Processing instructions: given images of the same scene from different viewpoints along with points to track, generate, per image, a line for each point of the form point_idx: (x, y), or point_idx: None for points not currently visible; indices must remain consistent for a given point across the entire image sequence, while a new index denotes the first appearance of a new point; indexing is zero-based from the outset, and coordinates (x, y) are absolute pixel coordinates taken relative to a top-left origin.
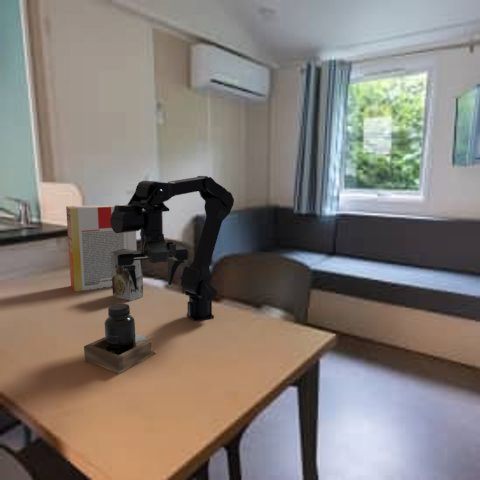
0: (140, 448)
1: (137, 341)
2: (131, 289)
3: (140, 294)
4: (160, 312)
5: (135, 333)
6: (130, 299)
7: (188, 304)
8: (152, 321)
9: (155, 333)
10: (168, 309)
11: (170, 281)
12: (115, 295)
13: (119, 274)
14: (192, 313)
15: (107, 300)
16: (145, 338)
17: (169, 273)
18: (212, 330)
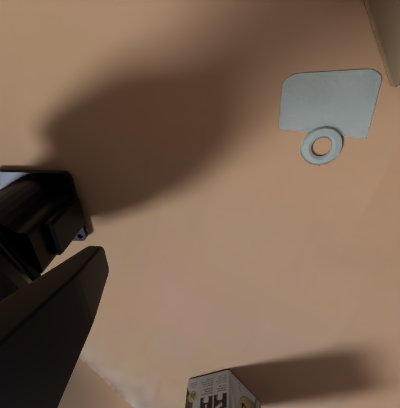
0: None
1: (329, 72)
2: (224, 406)
3: (196, 386)
4: (169, 279)
5: (307, 148)
6: (228, 373)
7: (62, 238)
8: (212, 228)
9: (234, 123)
10: (140, 289)
11: (75, 263)
12: (256, 402)
13: None
14: (64, 201)
15: (281, 389)
16: (288, 89)
17: (38, 361)
18: (4, 51)
